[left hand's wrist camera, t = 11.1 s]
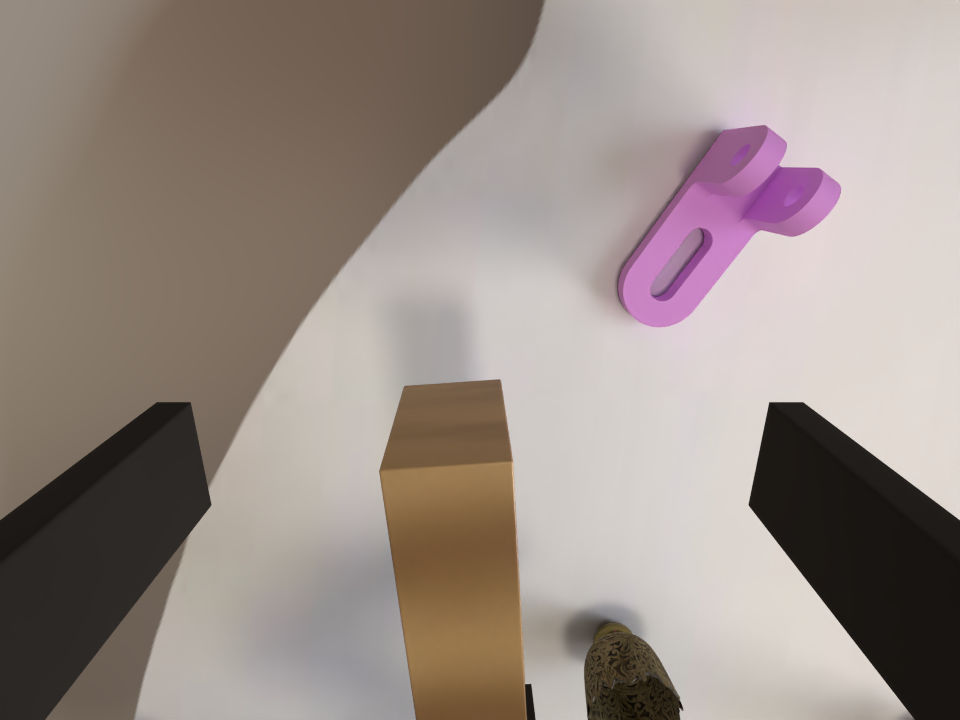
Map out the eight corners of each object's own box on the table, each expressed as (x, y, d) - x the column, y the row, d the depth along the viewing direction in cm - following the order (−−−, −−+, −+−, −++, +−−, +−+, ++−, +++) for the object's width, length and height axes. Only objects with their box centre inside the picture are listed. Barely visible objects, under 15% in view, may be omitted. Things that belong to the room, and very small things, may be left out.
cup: (667, 617, 49) (702, 699, 42) (627, 673, 51) (654, 760, 44) (594, 592, 48) (616, 671, 41) (557, 650, 50) (572, 735, 43)
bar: (403, 385, 27) (378, 470, 19) (500, 378, 27) (513, 461, 19) (448, 745, 35) (442, 901, 28) (521, 740, 35) (536, 894, 28)
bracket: (722, 130, 35) (779, 123, 29) (785, 179, 36) (854, 182, 30) (602, 295, 39) (628, 322, 32) (662, 335, 40) (700, 368, 34)
